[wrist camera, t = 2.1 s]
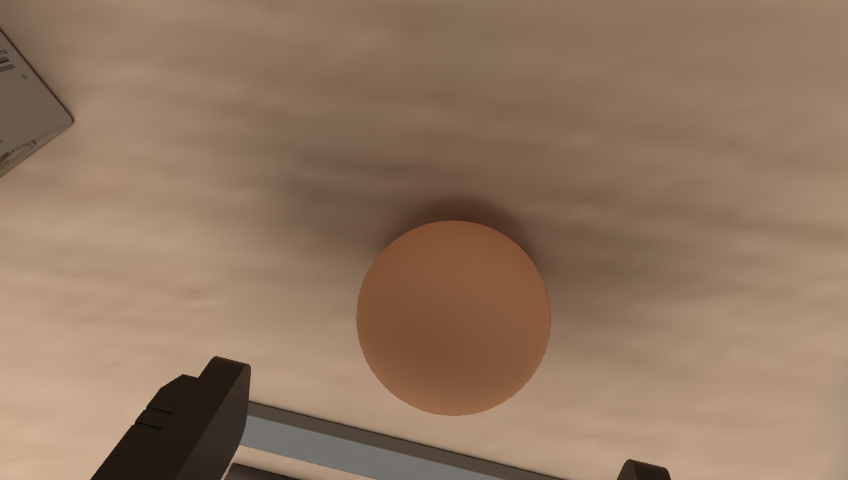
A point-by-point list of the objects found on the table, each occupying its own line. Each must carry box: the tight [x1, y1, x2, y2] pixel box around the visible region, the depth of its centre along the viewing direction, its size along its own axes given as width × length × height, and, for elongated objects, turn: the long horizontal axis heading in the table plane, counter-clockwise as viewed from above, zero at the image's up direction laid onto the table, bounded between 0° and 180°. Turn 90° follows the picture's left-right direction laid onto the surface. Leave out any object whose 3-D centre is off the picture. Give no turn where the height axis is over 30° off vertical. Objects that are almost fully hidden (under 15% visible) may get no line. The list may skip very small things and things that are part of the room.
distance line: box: [239, 402, 559, 480], centre depth 23 cm, size 2×16×1 cm, turn 79°
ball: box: [356, 220, 551, 416], centre depth 17 cm, size 5×5×5 cm
